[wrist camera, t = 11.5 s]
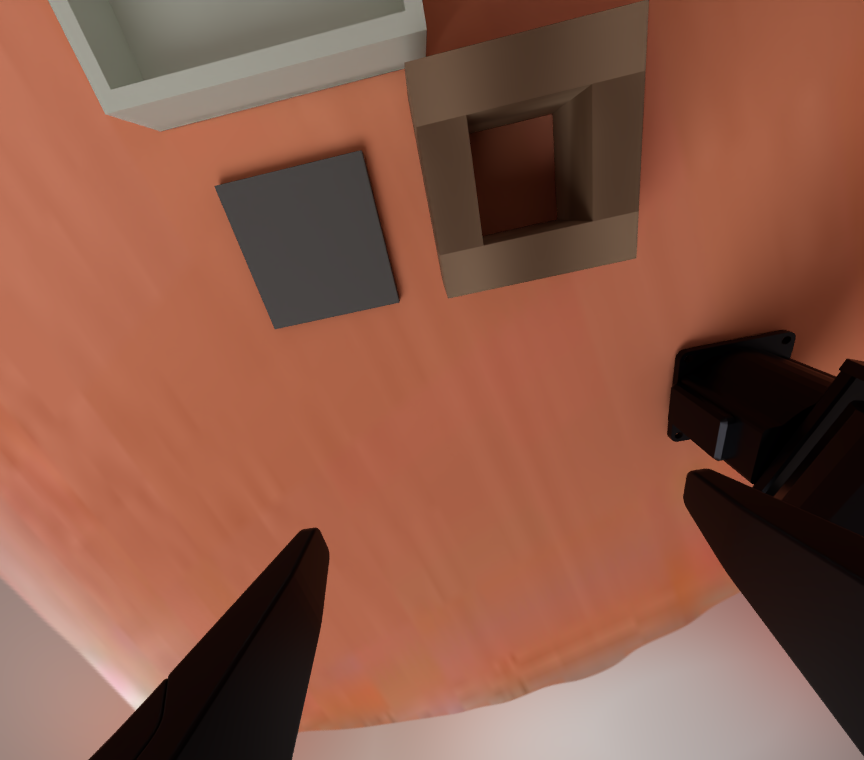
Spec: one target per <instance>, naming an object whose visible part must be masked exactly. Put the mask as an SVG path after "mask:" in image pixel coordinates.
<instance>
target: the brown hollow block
mask: <svg viewBox="0 0 864 760" xmlns="http://www.w3.org/2000/svg"><path fill="white" fill-rule="evenodd" d="M648 8H649V0H644V1H640V2H636V3H633V4H629V5H625V6H621V7H617V8H613V9H609V10H606V11H602V12H598V13H594V14H590V15H586V16H582V17H578V18H575V19H571V20H567V21H563V22H559V23H555V24H551V25H548V26H544V27H540V28H536V29H532V30H528V31H524V32H520V33H517V34H513V35H509V36H505V37H501V38H497V39H493V40H490V41H486V42H482V43H478V44H474V45H470V46H466V47H463V48H459V49H455V50H451V51H447V52H443V53H439V54H435V55H432V56H428V57H424V58H420V59H416V60H412V61H408V62H405V63H404V66H405V75H406V84H407V94H408V101H409V106H410V111H411V117H412V122H413V127H414V132H415V138H416V143H417V148H418V154H419V159H420V164H421V169H422V175H423V180H424V185H425V191H426V196H427V201H428V206H429V212H430V217H431V222H432V228H433V233H434V238H435V243H436V249H437V254H438V259H439V264H440V270H441V275H442V280H443V284H444V287H445V290H446V293H447V296H448V298H453V297H458V296H462V295H467V294H472V293H476V292H481V291H486V290H490V289H495V288H500V287H504V286H509V285H514V284H518V283H523V282H528V281H532V280H537V279H542V278H546V277H551V276H556V275H560V274H565V273H570V272H574V271H579V270H584V269H588V268H593V267H598V266H602V265H607V264H612V263H616V262H621V261H626V260H630V259H635V258H636V254H637V234H638V213H639V193H640V172H641V152H642V131H643V111H644V90H645V70H646V49H647V29H648ZM548 114H552V115H553V138H554V160H555V183H556V205H557V220H553V221H548V222H544V223H540V224H535V225H531V226H526V227H522V228H517V229H513V230H508V231H504V232H499V233H495V234H490V235H486V236H482V230H481V223H480V215H479V207H478V200H477V192H476V185H475V177H474V170H473V162H472V155H471V147H470V140H469V134H470V133H474V132H478V131H483V130H487V129H491V128H495V127H499V126H503V125H507V124H511V123H515V122H520V121H524V120H528V119H532V118H536V117H540V116H544V115H548Z"/></svg>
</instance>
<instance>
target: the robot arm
mask: <svg viewBox="0 0 864 760" xmlns="http://www.w3.org/2000/svg"><path fill="white" fill-rule="evenodd" d="M783 338H784V339H783ZM795 338H796V335H795V334H794V333H793V332H790V331H787V330H779V331H774V332H769V333H764V334H759V335H754V336H749V337H744V338H739V339H734V340H728V341H723V342H718V343H713V344H708V345H703V346H698V347H693V348H688V349H684V350H681V351H680V352H679V353H678V354H677V355H676V358H675V367H674V376H673V385H672V388H671V396H670V405H669V414H668V421H669V422H668V431H667V435H668V437H669V438H670V439H672V440H673V441H675V442H678V441H684V440H689V439H691V440H692V441H693V442H694V443H696V444H697V445H698V446H699V447H700V448H702V449H703V450H704V451H705V452H706V453H707V454H709V455H710V456H711V457H712V458H714V459H715V460H717V461H721V460H724V461H725V462H726V463H727V464H728V465H730V466H731V467H732V468H733V469H735V470H736V471H737V472H738V473H739V474H741V475H742V476H743V477H744V478H746V479H747V480H748V481H749V482H750V483H752V484H754V485H753V487H750V486H747V485H745V484H743V483H741V482H738V481H736V480H734V479H732V478H729V477H727V476H725V475H722V474H720V473H718V472H716V471H713V470H711V469H700V470H693V471H690V472H689V473H688V474H687V477H686V483H685V489H684V494H683V499H684V503H685V506H686V508H687V510H688V511H689V513H690V514H691V516H692V518H693V519H694V521H695V523H696V524H697V526H698V527H699V529H700V531H701V532H702V534H703V536H704V537H705V539H706V541H707V542H708V544H709V545H710V547H711V549H712V550H713V552H714V554H715V555H716V557H717V558H718V560H719V562H720V563H721V565H722V566H723V568H724V569H725V571H726V572H727V574H728V575H729V576H730V578H731V579H732V581H733V582H734V583H735V585H736V586H737V587H738V589H739V590H740V591H741V593H742V594H743V595H744V597H745V598H746V599H747V601H748V602H749V603H750V604H751V606H752V607H753V609H754V610H755V611H756V613H757V614H758V615H759V617H760V618H761V619H762V621H763V622H764V623H765V625H766V626H767V627H768V629H769V630H770V631H771V633H772V634H773V635H774V637H775V638H776V639H777V641H778V642H779V644H780V645H781V646H782V648H783V649H784V650H785V651H786V653H787V654H788V656H789V657H790V658H791V660H792V661H793V662H794V664H795V665H796V666H797V668H798V669H799V670H800V671H801V673H802V674H803V676H804V677H805V678H806V680H807V681H808V682H809V684H810V685H811V686H812V688H813V689H814V690H815V692H816V693H817V694H818V696H819V697H820V698H821V700H822V701H823V702H824V704H825V705H826V706H827V708H828V709H829V710H830V712H831V713H832V714H833V716H834V717H835V719H836V720H837V721H838V723H839V724H840V725H841V726H842V728H843V729H844V731H845V732H846V733H847V735H848V736H849V737H850V738H851V740H852V741H853V743H854V744H855V745H856V747H857V748H858V749H859V751H860V752H861V753H862V755H863V756H864V362H863V361H858V360H853V359H846V360H845V362H844V363H843V364H842V366H841V367H840V368H839V370H840V371H841V372H840V373H839V374H838V375H837V377H836V376H833V375H831V374H828V373H826V372H823V371H821V370H818V369H816V368H813V367H811V366H808V365H806V364H803V363H801V362H798V361H796V360H793V359H791V358H790V357H791V353H792V350H793V346H794V342H795ZM687 356H688V358H687V359H686V360H684V359H685V358H686V357H687ZM328 566H329V549H328V547H327V545H326V542H325V540H324V538H323V536H322V534H321V532H320V530H319V529H318V528H309V529H303V530H301V531H300V532H299V533H298V534H297V535H296V536H295V537H294V538H293V539H292V540H291V541H290V542H289V543H288V545H287V546H286V547H285V548H284V549H283V550H282V551H281V552H280V553H279V554H278V556H277V557H276V558H275V559H274V560H273V561H272V562H271V563H270V564H269V565H268V567H267V568H266V569H265V570H264V571H263V572H262V573H261V574H260V575H259V576H258V577H257V579H256V580H255V581H254V582H253V583H252V584H251V585H250V586H249V587H248V588H247V590H246V591H245V592H244V593H243V594H242V595H241V596H240V597H239V598H238V599H237V601H236V602H235V603H234V604H233V605H232V606H231V607H230V608H229V609H228V610H227V611H226V613H225V614H224V615H223V616H222V617H221V618H220V619H219V620H218V621H217V622H216V624H215V625H214V626H213V627H212V628H211V629H210V630H209V631H208V632H207V633H206V635H205V636H204V637H203V638H202V639H201V640H200V641H199V642H198V643H197V644H196V646H195V647H194V648H193V649H192V650H191V651H190V652H189V653H188V654H187V655H186V656H185V658H184V659H183V660H182V661H181V662H180V663H179V664H178V665H177V666H176V667H175V669H174V670H173V671H172V672H171V673H170V674H169V676H168V679H165V680H163V682H162V683H161V684H160V685H159V686H158V687H157V688H156V689H155V690H154V691H153V693H152V694H151V695H150V696H149V697H148V698H147V699H146V700H145V701H144V702H143V703H142V704H141V706H140V707H139V708H138V709H137V710H136V711H135V712H134V713H133V714H132V715H131V716H130V717H129V718H128V720H126V722H125V723H124V724H123V725H122V726H121V727H120V728H119V729H118V730H117V731H116V732H115V733H114V734H113V735H112V736H111V737H110V739H108V740H107V741H106V743H104V744H103V746H102V747H100V748H99V750H98V751H97V752H96V753H95V754H94V755H93V756H92V757H91V758H90V759H89V760H292V757H293V752H294V747H295V742H296V738H297V734H298V729H299V725H300V720H301V716H302V711H303V706H304V702H305V697H306V693H307V688H308V684H309V679H310V675H311V670H312V665H313V661H314V656H315V652H316V647H317V643H318V638H319V633H320V628H321V623H322V616H323V608H324V600H325V591H326V583H327V574H328Z"/></svg>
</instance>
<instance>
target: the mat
mask: <svg viewBox="0 0 864 760" xmlns="http://www.w3.org/2000/svg"><path fill="white" fill-rule="evenodd" d="M215 189H216V191H217V193H218V196H219V198H220V201H221V203H222V205H223V208H224V210H225V212H226V215H227V217H228V220H229V222H230V224H231V227H232V229H233V231H234V234H235V236H236V238H237V241H238V243H239V246H240V248H241V250H242V253H243V255H244V257H245V260H246V262H247V265H248V267H249V269H250V272H251V274H252V276H253V279H254V281H255V283H256V286H257V288H258V291H259V293H260V295H261V298H262V300H263V302H264V305H265V307H266V309H267V312H268V314H269V317H270V319H271V321H272V324H273V326H274V328H275V329H278V328H283V327H288V326H292V325H297V324H302V323H306V322H311V321H315V320H320V319H325V318H329V317H334V316H339V315H343V314H348V313H353V312H357V311H362V310H367V309H371V308H376V307H380V306H385V305H390V304H394V303H399V301H400V300H399V296H398V292H397V288H396V284H395V280H394V276H393V272H392V268H391V264H390V260H389V256H388V252H387V248H386V244H385V240H384V236H383V232H382V228H381V224H380V220H379V216H378V212H377V208H376V204H375V200H374V196H373V192H372V188H371V184H370V180H369V176H368V172H367V168H366V164H365V160H364V156H363V152H362V151H361V150H360V151H356V152H352V153H348V154H344V155H340V156H336V157H331V158H327V159H323V160H319V161H315V162H311V163H307V164H303V165H299V166H295V167H291V168H287V169H282V170H278V171H274V172H270V173H266V174H262V175H258V176H254V177H250V178H246V179H242V180H238V181H233V182H229V183H225V184H221V185H217V186H215Z"/></svg>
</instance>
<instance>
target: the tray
mask: <svg viewBox="0 0 864 760" xmlns="http://www.w3.org/2000/svg"><path fill="white" fill-rule="evenodd" d="M48 1H49V3H50V5H51V7H52V9H53V11H54V13H55V15H56V17H57V19H58V21H59V23H60V25H61V27H62V29H63V31H64V33H65V35H66V37H67V39H68V41H69V43H70V45H71V47H72V49H73V51H74V53H75V55H76V57H77V59H78V61H79V63H80V65H81V67H82V69H83V71H84V72H85V74H86V76H87V78H88V80H89V82H90V84H91V86H92V88H93V90H94V92H95V94H96V96H97V98H98V100H99V102H100V104H101V106H102V108H103V110H104V112H105V114H106V115H110V116H113V117H116V118H119V119H123V120H126V121H129V122H132V123H135V124H139V125H142V126H145V127H148V128H151V129H155V130H158V131H164V130H168V129H172V128H176V127H180V126H183V125H187V124H191V123H195V122H199V121H203V120H207V119H211V118H214V117H218V116H222V115H226V114H230V113H234V112H238V111H242V110H245V109H249V108H253V107H257V106H261V105H265V104H269V103H273V102H277V101H280V100H284V99H288V98H292V97H296V96H300V95H304V94H308V93H311V92H315V91H319V90H323V89H327V88H331V87H335V86H339V85H343V84H346V83H350V82H354V81H358V80H362V79H366V78H370V77H374V76H377V75H381V74H385V73H389V72H393V71H397V70H401V69H405V66H404V63H405V62H408V61H412V60H416V59H420V58H424V57H426V37H427V28H426V22H425V15H424V9H423V3H422V0H48Z"/></svg>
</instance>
